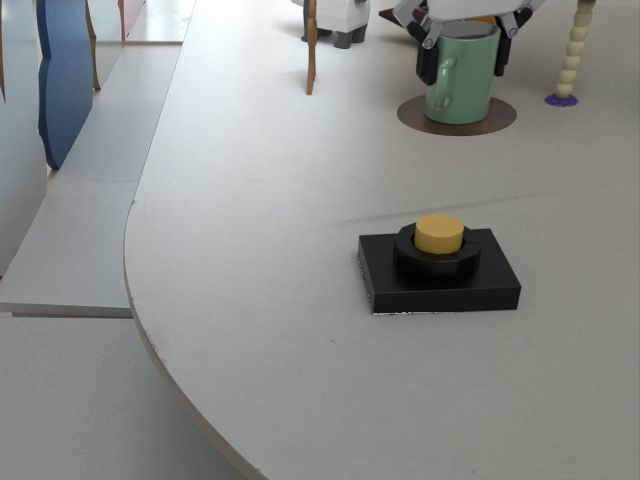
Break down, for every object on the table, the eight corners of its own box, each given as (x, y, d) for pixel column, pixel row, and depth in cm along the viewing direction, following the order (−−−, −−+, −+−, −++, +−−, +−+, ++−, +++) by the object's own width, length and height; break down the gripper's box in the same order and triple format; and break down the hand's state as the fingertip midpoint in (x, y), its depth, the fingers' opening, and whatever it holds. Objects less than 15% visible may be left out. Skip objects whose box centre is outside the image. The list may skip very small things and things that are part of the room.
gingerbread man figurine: (299, 82, 104) (300, -15, 97) (329, 81, 103) (332, -17, 96) (292, 107, 97) (293, 6, 90) (324, 107, 96) (327, 4, 89)
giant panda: (373, 40, 114) (378, -31, 108) (350, 51, 112) (353, -21, 106) (295, 25, 123) (296, -41, 118) (272, 35, 121) (271, -32, 115)
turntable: (497, 98, 94) (499, 88, 93) (531, 142, 84) (533, 132, 83) (386, 105, 95) (387, 96, 94) (406, 150, 85) (407, 140, 84)
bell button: (455, 231, 64) (458, 212, 63) (465, 254, 61) (469, 235, 60) (410, 234, 65) (412, 215, 64) (418, 257, 62) (421, 238, 61)
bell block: (486, 250, 68) (493, 209, 66) (516, 310, 61) (526, 266, 59) (357, 256, 69) (360, 216, 67) (372, 316, 62) (376, 273, 60)
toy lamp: (588, 107, 89) (627, -54, 79) (579, 123, 86) (619, -43, 76) (544, 102, 92) (576, -55, 81) (533, 117, 89) (566, -45, 78)
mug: (437, 97, 92) (446, 17, 87) (496, 106, 89) (510, 23, 83) (403, 129, 86) (412, 45, 81) (465, 139, 83) (478, 52, 77)
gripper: (554, -124, 79) (521, 56, 89) (383, -103, 78) (371, 76, 89) (594, -114, 73) (554, 78, 84) (410, -91, 72) (393, 99, 83)
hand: (460, 76), depth 86 cm, fingers closed on mug, 6 cm apart
